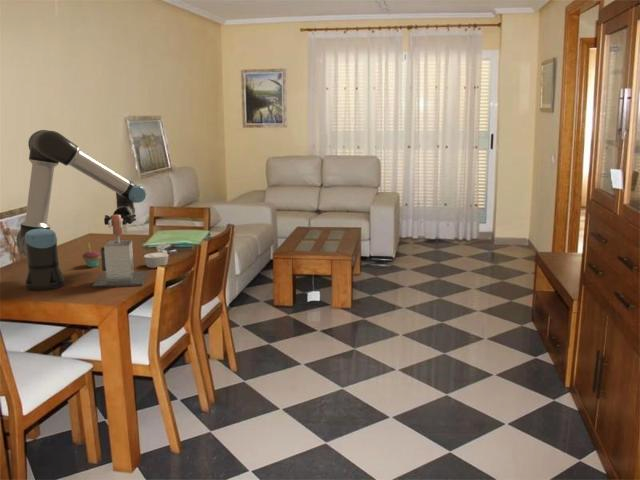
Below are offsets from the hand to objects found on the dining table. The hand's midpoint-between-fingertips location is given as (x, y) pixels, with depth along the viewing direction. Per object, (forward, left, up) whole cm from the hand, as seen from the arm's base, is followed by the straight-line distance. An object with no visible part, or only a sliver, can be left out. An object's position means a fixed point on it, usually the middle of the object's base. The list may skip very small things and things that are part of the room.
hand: (114, 224), depth 253 cm
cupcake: (-17, +35, -26) cm, 47 cm away
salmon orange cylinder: (0, +5, -21) cm, 22 cm away
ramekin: (+13, +30, -26) cm, 42 cm away
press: (0, +5, -26) cm, 26 cm away
